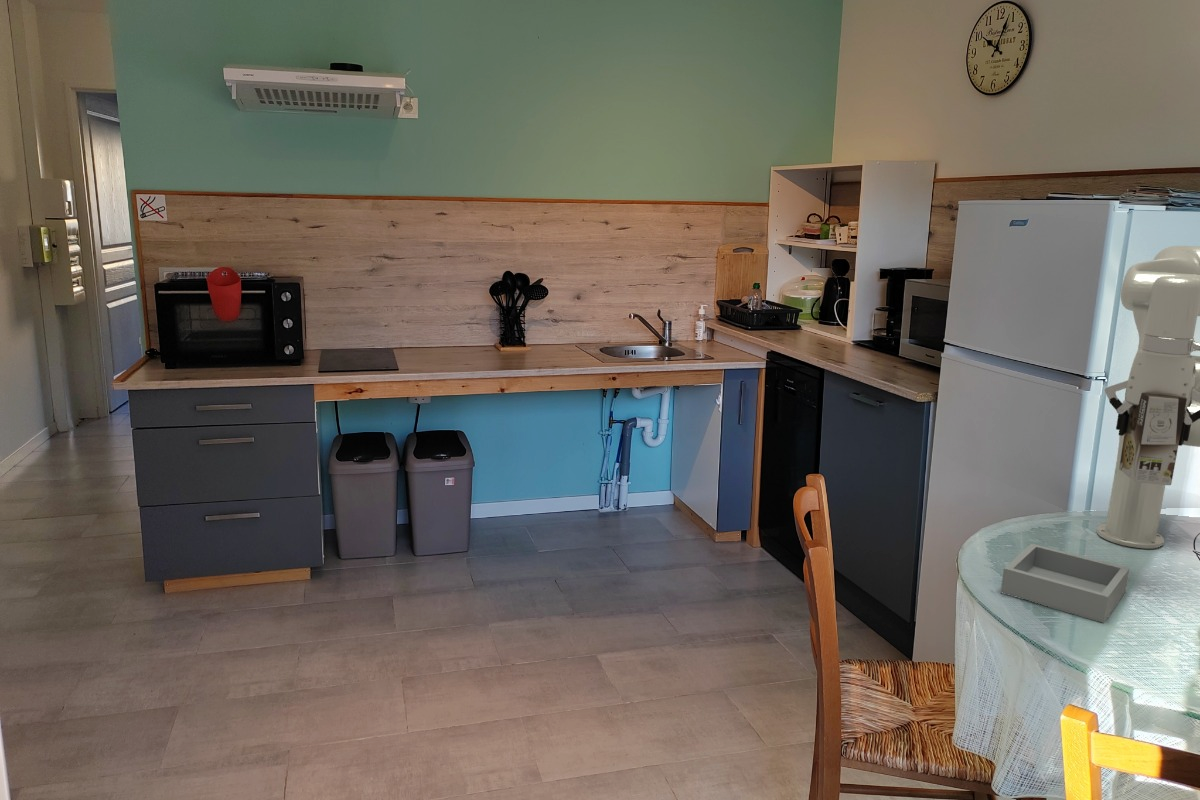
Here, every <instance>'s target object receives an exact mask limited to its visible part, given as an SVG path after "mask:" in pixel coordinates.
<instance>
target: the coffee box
mask: <svg viewBox="0 0 1200 800" xmlns="http://www.w3.org/2000/svg"><path fill="white" fill-rule="evenodd" d="M1186 401H1187V398H1183V397H1176V396H1169V395H1159V394H1157V395H1156V394H1149V393H1142V394H1141V397H1140V401H1139V405H1138V406H1136V405H1132V406H1131V407H1130V408H1129V409H1128V414H1129V418H1128V424H1127V430H1126V433H1125V434H1124V440H1123V447H1122V454H1121V460H1120V466H1119V469H1120V470H1121V471H1122V472H1123V473H1125V474H1126V475H1127V476H1128V477H1130V478H1131V479H1132V480H1133V481H1135V482H1141V483H1152V484H1161V485H1165V486H1171V485H1172V483H1173V477H1174V471H1175V467H1176V466H1175V465H1176V460H1177V457H1178V456H1177V455H1178V450H1179V439H1180V434H1181V428H1182V423H1183V418H1184V412H1185V407H1186Z"/></svg>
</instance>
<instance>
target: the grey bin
mask: <svg viewBox="0 0 1200 800" xmlns="http://www.w3.org/2000/svg"><path fill="white" fill-rule="evenodd" d="M1129 574H1130V567H1126V566H1122V565H1118V564H1114V563H1111V562H1106V561H1103V560H1098V559H1095V558H1090V557H1087V556H1083V555H1079V554H1075V553H1071V552H1067V551H1064V550H1063V551H1062V550H1059V549H1055V548H1052V547H1051V548H1050V547H1048V546H1044V545H1043V546H1042V545H1039V544H1035V543H1030V545H1028V546H1027V547H1026V548H1025V549H1024V550H1022V551H1021V552H1020V553H1019V554H1018V555H1017V556H1015V558H1014V559H1013V560H1012V561H1010V562H1009V563H1008V564H1007V565H1006V566H1005V567H1004V568H1003V574H1002V579H1001V588H1000V593H1001V592H1003V593H1005V594H1004V595H1006V594H1010V595H1013V596H1017V597H1020V598H1023V599H1026V600H1029V601H1028V602H1030V601H1032V602H1031V603H1033V602H1035V603H1034V604H1037V603H1038V605H1040V604H1041V605H1040V606H1044V607H1047V606H1048V607H1047V608H1051V609H1054V610H1058V611H1062V612H1064V613H1069V614H1072V615H1075V616H1078V617H1082V618H1086V619H1088V620H1092V621H1096V622H1099V623H1102V624H1104V623H1105V622H1106V621H1107V619H1108V618H1109V616H1111V613H1112V612H1113V611H1114V609H1115V608H1116V606H1117V605H1118V604H1119V602H1120V601H1121V599H1122V598H1123V596H1124V595H1125V594H1126V591H1127V585H1128V580H1129V579H1128V578H1129ZM1013 596H1012V597H1013ZM1020 598H1019V599H1020ZM1023 599H1022V600H1023ZM1026 600H1025V601H1026Z"/></svg>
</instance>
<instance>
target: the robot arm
mask: <svg viewBox="0 0 1200 800" xmlns="http://www.w3.org/2000/svg"><path fill="white" fill-rule="evenodd" d="M1120 301H1121V304H1122V306H1123V307H1124V309H1126V310H1128V311H1132V314H1133V319H1134V323H1135V326H1136V329H1137V334H1138V344H1137V351H1136V353H1135V355H1134V359H1133V362H1132V364H1131V367H1130V371H1129V376H1128V379H1127V380H1125V381H1122V382H1118V383H1115V384H1113V385H1110V386H1107V387H1106V388H1105V389H1104V392H1105V394H1106V397H1107V400H1108V401H1109V404H1110V405H1111V406H1112V407H1113V409H1115V411H1116V413H1117V414H1118V415H1117V421H1116V427H1115V430H1118V436H1119V437H1118V448H1117V449H1118V450H1117V455H1116V462H1115V469H1114V475H1113V479H1112V480H1113V481H1112V485H1111V486H1112V487H1111V492H1110V493H1111V494H1110V499H1109V505H1108V511H1107V516H1106V523H1101V524H1099V525H1098V526H1097V528H1096V533H1097V535H1098V536H1099V537H1100V538H1102V539H1104V540H1106V541H1108V542H1111V543H1113V544H1117V545H1121V546H1125V547H1128V548H1136V549H1143V550H1144V549H1146V550H1147V549H1149V550H1152V549H1159V548H1161V547H1160V546H1162V545H1163V546H1164V543H1165V538H1164V537H1163V536H1162V535H1161V534H1159V533H1158V528H1159V522H1160V516H1161V512H1162V508H1163V507H1162V506H1163V500H1164V496H1165V490H1166V485H1161V484H1152V483H1141V482H1135V481H1133V480H1132V479H1131V478H1130V477H1128V476H1127V475H1126V474H1125V473H1123V472H1122V471H1121V470H1120V469H1119V466H1120V460H1121V454H1122V447H1123V440H1124V434H1125V433H1126V430H1127V424H1128V418H1129V414H1128V409H1129V408H1130V407H1131V406H1132V405H1136V406H1138V405H1139V401H1140V397H1141V394H1142V393H1149V394H1156V395H1157V394H1159V395H1169V396H1176V397H1183V398H1187V401H1186V407H1185V412H1184V418H1183V423H1182V428H1181V434H1180V439H1179V445H1178V447H1179V446H1180V447H1181V446H1187V447H1188V446H1189V447H1196V448H1197V447H1198V448H1200V356H1199V355H1192V354H1191V353H1192V352H1196V351H1197V352H1198V351H1200V343H1199V342H1197V341H1195V338H1194V336H1195V331H1196V326H1197V320H1198V317H1200V246H1198V245H1174V246H1173V245H1171V246H1168V247H1165V248H1164V249H1162V250H1160V251H1159V252H1158V253H1157V254H1155V256H1154V258H1153V260H1148V261H1142V262H1137V263H1135V264H1133V265H1131V266H1130V267H1129V268H1128V270H1127V271H1126V273H1125V275H1124V277H1123V281H1122V284H1121V290H1120ZM1122 390H1125V393H1124V400H1123V401H1121V400H1120V399H1119V398H1118V396H1117V394H1116V392H1119V391H1122ZM1163 546H1162V547H1163ZM1158 547H1159V548H1158Z"/></svg>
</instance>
